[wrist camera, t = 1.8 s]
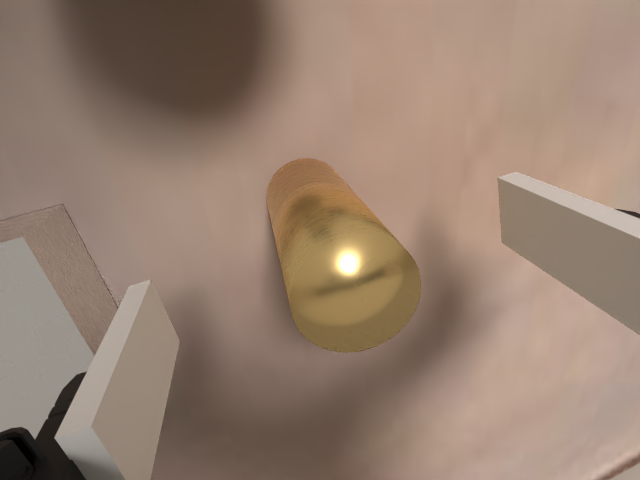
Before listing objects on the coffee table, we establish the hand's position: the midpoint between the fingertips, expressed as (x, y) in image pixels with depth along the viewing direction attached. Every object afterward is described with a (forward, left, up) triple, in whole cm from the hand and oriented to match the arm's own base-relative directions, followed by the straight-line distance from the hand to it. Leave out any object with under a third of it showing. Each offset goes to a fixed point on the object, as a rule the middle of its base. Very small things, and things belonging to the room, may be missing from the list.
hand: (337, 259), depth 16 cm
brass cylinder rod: (0, 0, -7) cm, 7 cm away
